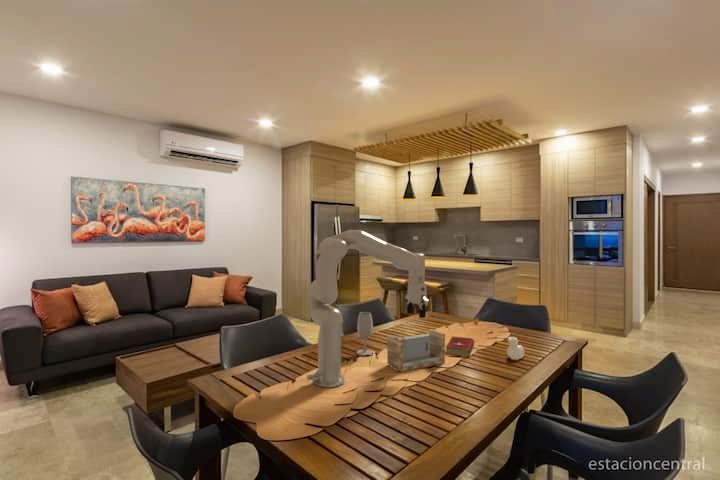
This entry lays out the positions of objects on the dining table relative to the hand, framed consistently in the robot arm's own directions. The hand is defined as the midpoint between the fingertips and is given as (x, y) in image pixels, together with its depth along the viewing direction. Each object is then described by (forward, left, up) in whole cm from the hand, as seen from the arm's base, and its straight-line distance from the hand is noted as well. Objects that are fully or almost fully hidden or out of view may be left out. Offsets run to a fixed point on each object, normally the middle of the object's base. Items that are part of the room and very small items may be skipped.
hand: (416, 315), depth 178 cm
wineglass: (-15, +24, -23) cm, 37 cm away
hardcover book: (+35, +8, -24) cm, 43 cm away
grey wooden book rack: (0, 0, -23) cm, 23 cm away
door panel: (0, 0, -22) cm, 22 cm away
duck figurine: (+49, -15, -24) cm, 57 cm away
